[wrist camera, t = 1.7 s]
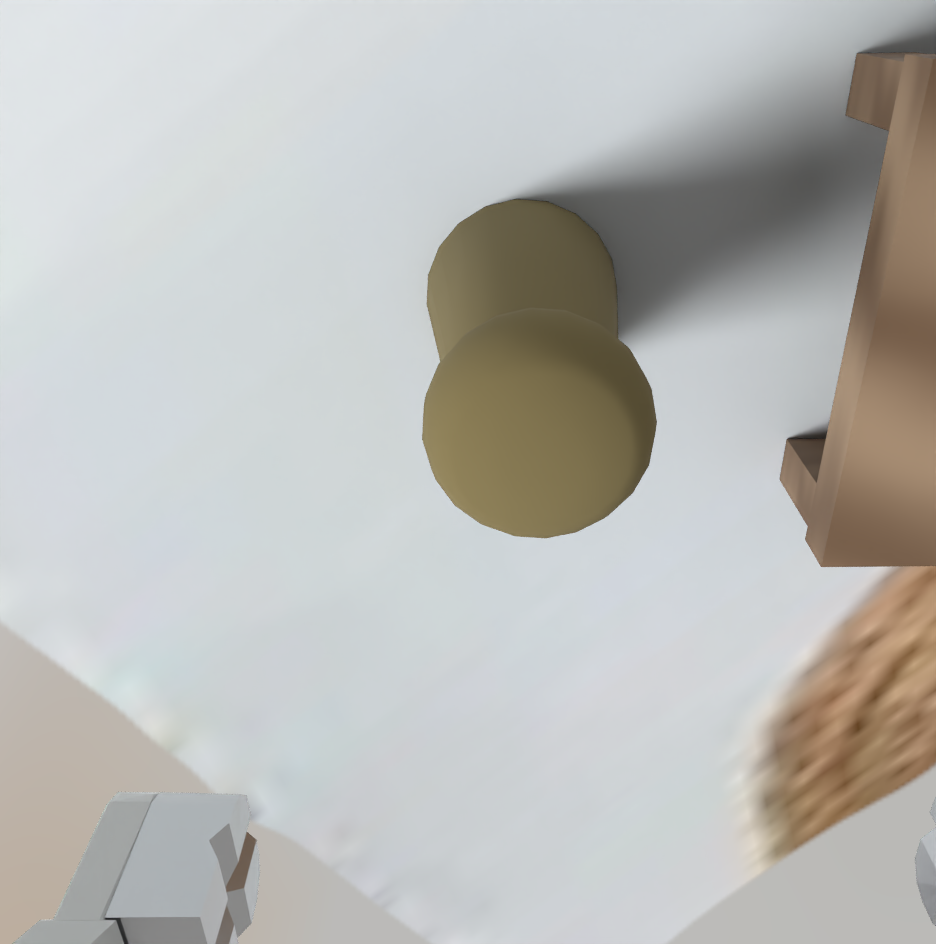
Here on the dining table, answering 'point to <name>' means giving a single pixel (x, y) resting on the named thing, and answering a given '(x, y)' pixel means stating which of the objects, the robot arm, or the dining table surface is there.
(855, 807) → the dining table surface
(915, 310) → the walnut stand
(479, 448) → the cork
